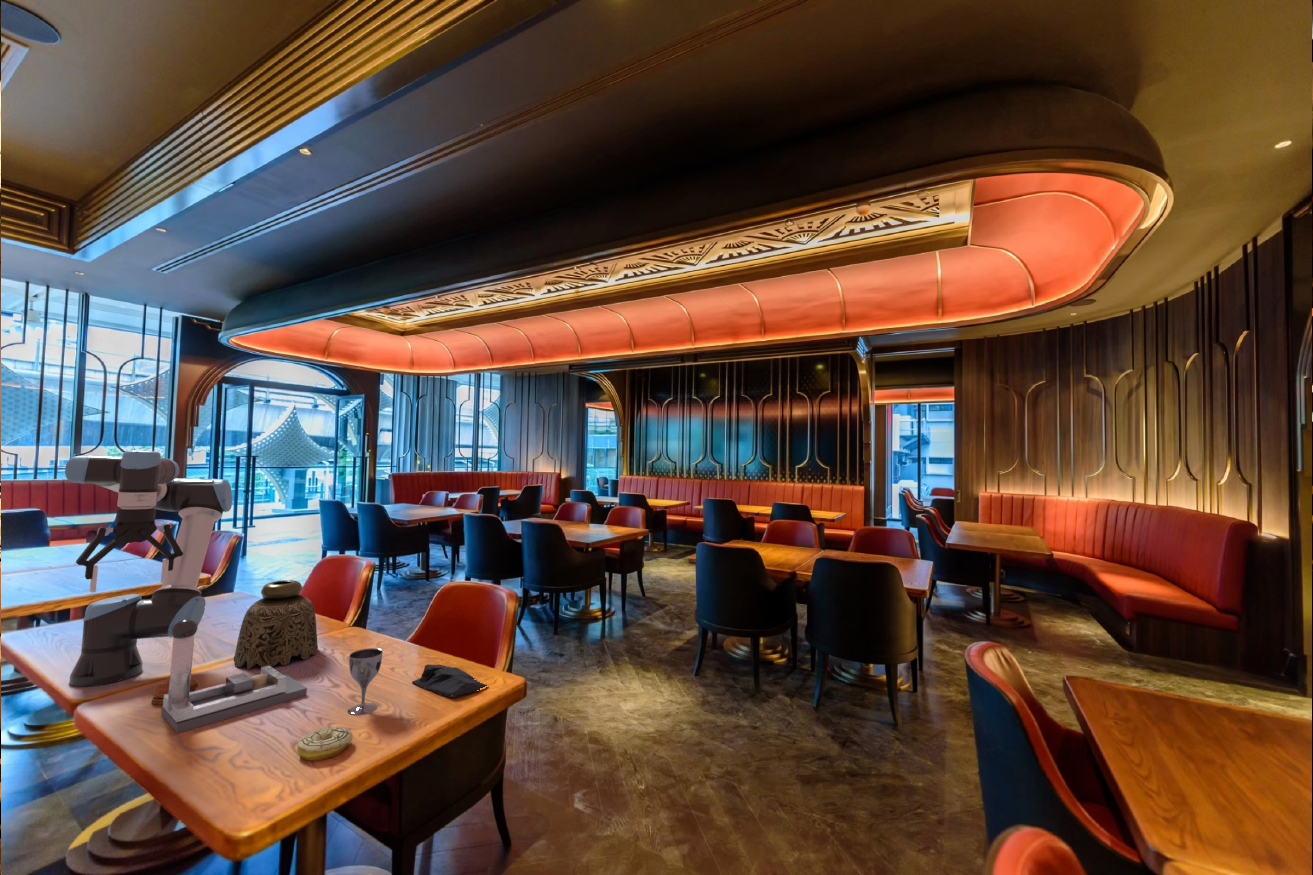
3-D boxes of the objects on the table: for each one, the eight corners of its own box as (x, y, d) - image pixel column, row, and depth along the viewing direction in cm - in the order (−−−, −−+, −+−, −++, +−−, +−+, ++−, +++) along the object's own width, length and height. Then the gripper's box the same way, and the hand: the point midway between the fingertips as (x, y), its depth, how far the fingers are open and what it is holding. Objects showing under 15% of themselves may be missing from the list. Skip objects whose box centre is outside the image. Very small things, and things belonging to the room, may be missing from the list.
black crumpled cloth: (445, 706, 147) (446, 688, 147) (408, 683, 161) (409, 667, 161) (492, 689, 159) (493, 673, 159) (454, 669, 173) (454, 655, 173)
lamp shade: (293, 640, 192) (298, 572, 194) (332, 652, 182) (337, 580, 184) (218, 661, 171) (224, 584, 173) (257, 675, 161) (263, 593, 163)
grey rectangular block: (224, 695, 143) (226, 677, 143) (242, 690, 146) (243, 672, 146) (233, 703, 139) (234, 683, 139) (251, 698, 142) (252, 679, 142)
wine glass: (341, 717, 137) (345, 659, 138) (350, 703, 145) (354, 649, 146) (374, 714, 139) (378, 657, 140) (382, 701, 147) (385, 647, 148)
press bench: (161, 714, 135) (161, 706, 135) (285, 680, 158) (286, 674, 158) (176, 733, 127) (177, 725, 127) (306, 695, 149) (306, 687, 149)
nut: (246, 691, 146) (247, 677, 146) (263, 687, 149) (264, 672, 149) (251, 695, 143) (252, 681, 144) (268, 691, 147) (269, 676, 147)
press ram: (157, 708, 134) (165, 616, 135) (268, 679, 154) (274, 599, 155) (171, 723, 127) (179, 627, 128) (285, 691, 146) (291, 607, 147)
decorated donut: (361, 745, 125) (362, 729, 125) (317, 768, 115) (319, 750, 115) (331, 735, 129) (332, 719, 129) (286, 756, 119) (288, 739, 119)
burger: (185, 704, 141) (187, 687, 142) (142, 708, 138) (144, 690, 139) (204, 689, 151) (205, 673, 151) (164, 693, 148) (165, 676, 148)
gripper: (70, 510, 128) (61, 597, 127) (200, 506, 149) (194, 581, 147) (65, 508, 133) (57, 592, 132) (192, 504, 153) (186, 577, 152)
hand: (129, 587), depth 140 cm, fingers open, 13 cm apart
